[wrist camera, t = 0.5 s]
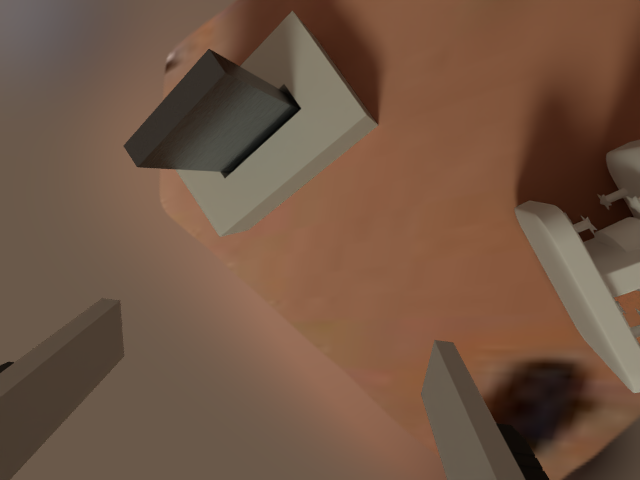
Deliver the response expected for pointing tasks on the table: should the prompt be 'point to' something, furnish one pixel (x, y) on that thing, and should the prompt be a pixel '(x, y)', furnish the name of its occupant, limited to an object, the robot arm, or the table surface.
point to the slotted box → (285, 132)
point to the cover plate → (211, 119)
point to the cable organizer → (596, 265)
